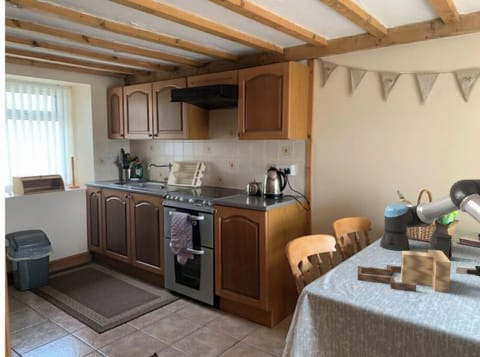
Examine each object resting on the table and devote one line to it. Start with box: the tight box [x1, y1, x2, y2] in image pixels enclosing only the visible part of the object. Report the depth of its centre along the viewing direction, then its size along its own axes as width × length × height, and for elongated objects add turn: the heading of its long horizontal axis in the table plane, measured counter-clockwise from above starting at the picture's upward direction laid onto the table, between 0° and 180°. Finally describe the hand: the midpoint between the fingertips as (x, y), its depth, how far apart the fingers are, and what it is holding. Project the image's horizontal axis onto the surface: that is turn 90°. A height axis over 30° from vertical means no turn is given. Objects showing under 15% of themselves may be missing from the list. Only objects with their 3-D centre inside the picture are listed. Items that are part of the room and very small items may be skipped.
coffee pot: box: [428, 217, 453, 249], centre depth 206 cm, size 21×12×15 cm, turn 151°
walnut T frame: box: [357, 264, 417, 293], centre depth 154 cm, size 22×22×2 cm
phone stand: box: [434, 233, 453, 260], centre depth 183 cm, size 9×6×12 cm, turn 138°
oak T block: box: [400, 249, 452, 294], centre depth 149 cm, size 16×16×12 cm
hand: (456, 269), depth 145 cm, fingers closed
